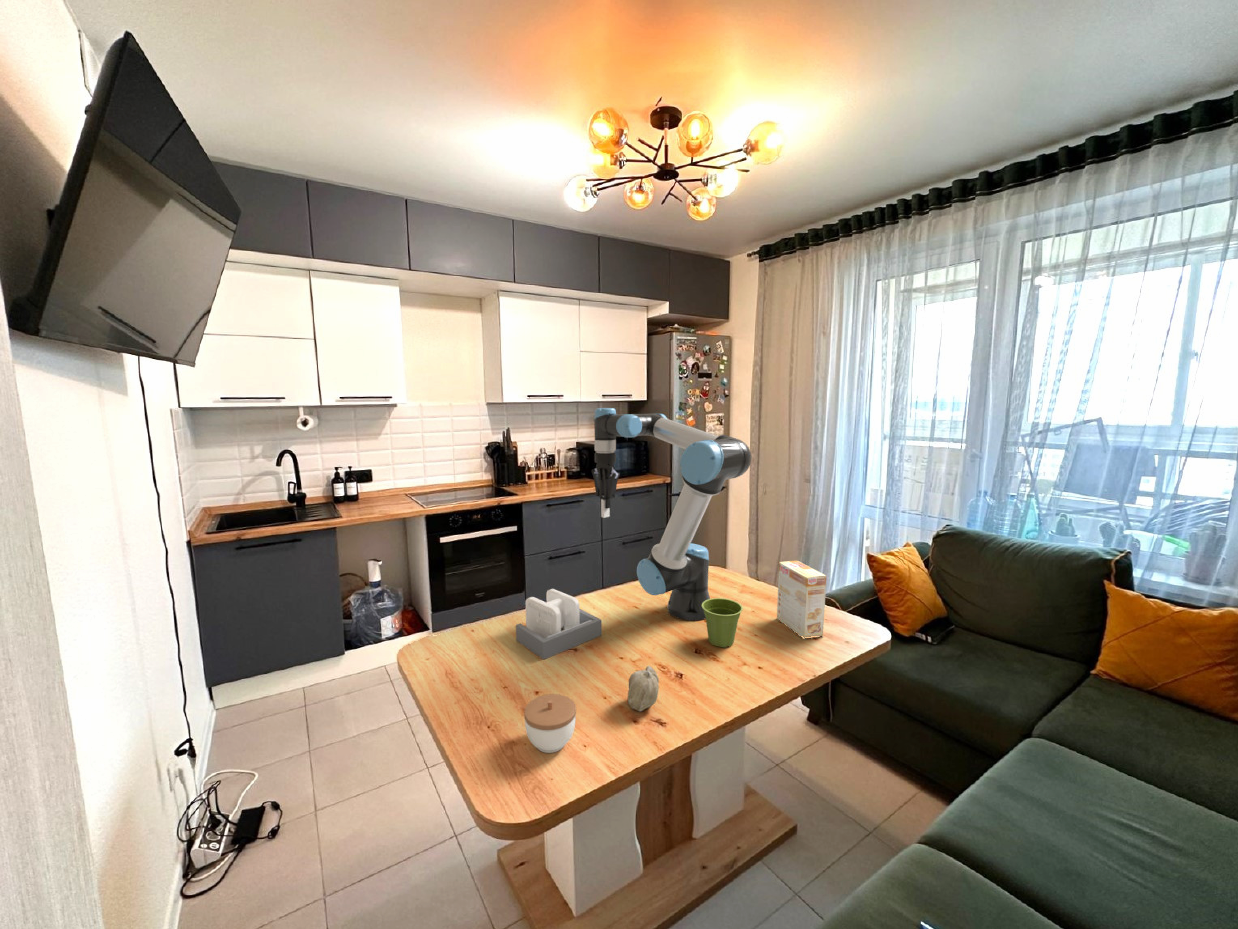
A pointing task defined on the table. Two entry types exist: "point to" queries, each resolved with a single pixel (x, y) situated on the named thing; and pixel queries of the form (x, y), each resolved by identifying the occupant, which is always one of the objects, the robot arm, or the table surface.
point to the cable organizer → (552, 613)
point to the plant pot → (721, 620)
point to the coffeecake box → (801, 598)
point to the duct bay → (560, 636)
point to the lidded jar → (550, 721)
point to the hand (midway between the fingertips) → (605, 516)
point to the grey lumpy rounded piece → (643, 689)
